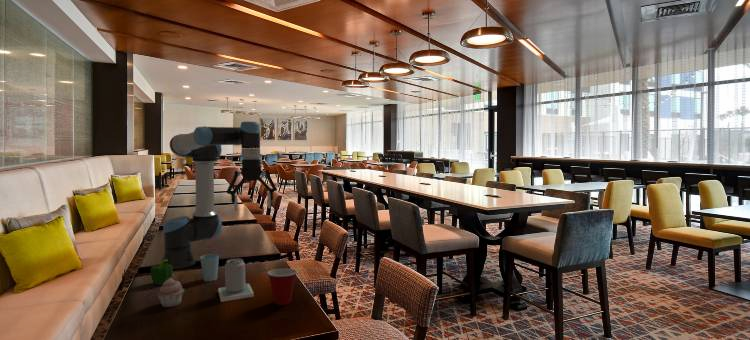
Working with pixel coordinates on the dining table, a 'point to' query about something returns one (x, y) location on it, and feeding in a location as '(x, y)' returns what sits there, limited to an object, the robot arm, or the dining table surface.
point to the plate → (235, 294)
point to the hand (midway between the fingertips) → (252, 209)
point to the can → (235, 275)
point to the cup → (209, 266)
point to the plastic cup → (282, 285)
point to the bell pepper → (161, 272)
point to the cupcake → (170, 293)
